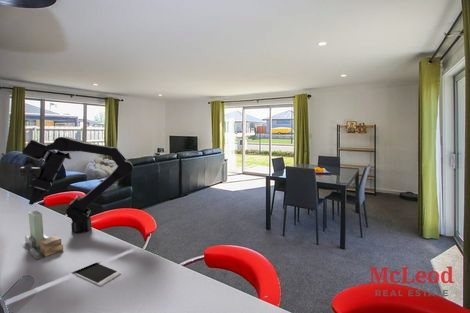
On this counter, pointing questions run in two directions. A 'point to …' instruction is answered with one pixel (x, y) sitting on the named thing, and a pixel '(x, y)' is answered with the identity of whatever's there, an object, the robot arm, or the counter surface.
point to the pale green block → (36, 227)
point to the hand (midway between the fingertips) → (31, 202)
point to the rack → (35, 248)
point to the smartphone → (97, 273)
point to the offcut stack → (51, 245)
